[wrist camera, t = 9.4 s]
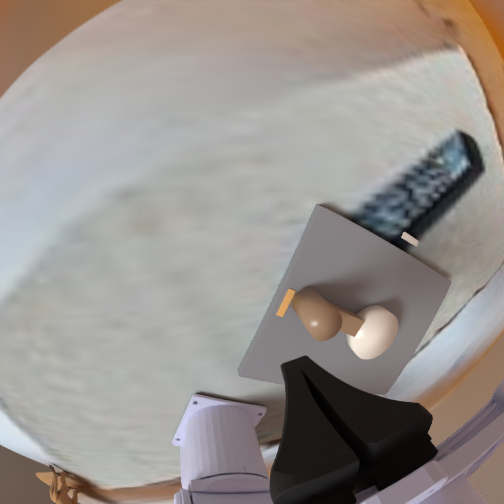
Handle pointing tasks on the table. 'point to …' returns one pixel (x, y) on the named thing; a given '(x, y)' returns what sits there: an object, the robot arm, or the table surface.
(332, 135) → the table surface
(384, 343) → the brown white rounded rod
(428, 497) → the robot arm
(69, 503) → the lion figurine
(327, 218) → the stud board
